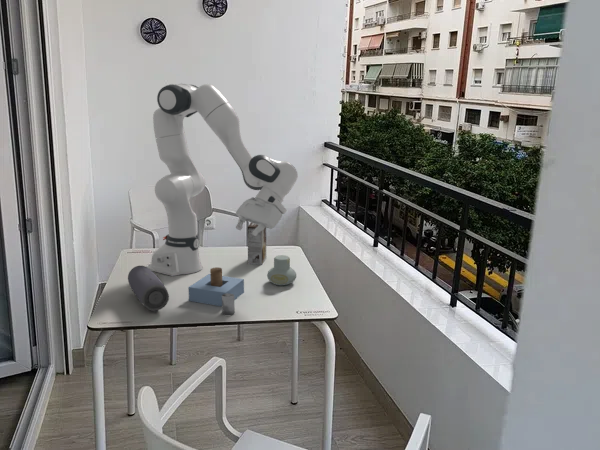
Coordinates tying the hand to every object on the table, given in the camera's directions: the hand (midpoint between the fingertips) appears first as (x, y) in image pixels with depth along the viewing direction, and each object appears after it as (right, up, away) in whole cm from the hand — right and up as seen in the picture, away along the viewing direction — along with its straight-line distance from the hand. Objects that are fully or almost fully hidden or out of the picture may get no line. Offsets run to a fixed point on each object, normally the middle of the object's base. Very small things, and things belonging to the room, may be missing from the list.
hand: (245, 231), depth 182 cm
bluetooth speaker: (-32, -24, -7) cm, 41 cm away
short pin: (-4, -26, -16) cm, 31 cm away
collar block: (-10, -22, -2) cm, 25 cm away
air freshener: (+12, -19, +12) cm, 26 cm away
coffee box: (+1, -13, +36) cm, 39 cm away
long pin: (-10, -22, -2) cm, 25 cm away
